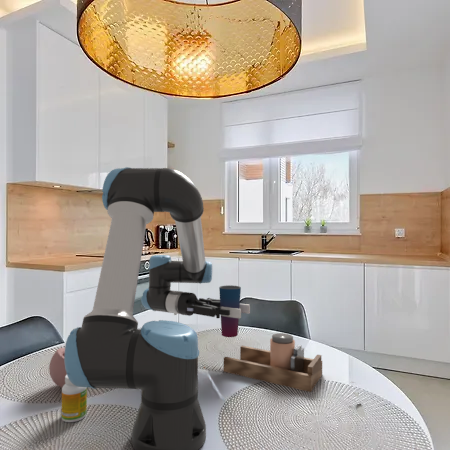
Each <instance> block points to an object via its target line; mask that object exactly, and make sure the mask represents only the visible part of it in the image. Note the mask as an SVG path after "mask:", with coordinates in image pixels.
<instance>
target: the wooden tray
mask: <svg viewBox="0 0 450 450" xmlns="http://www.w3.org/2000/svg"><path fill="white" fill-rule="evenodd" d="M239 350H240V351H239V352H240V354H239V355H240V357H239V359H238V358H234V357H230V356H224V357H223V372H224V373H228V374H232V375H236V376H241V377H245V378H250V379H253V380H257V381H261V382H262V381H263V382H266V383H270V384H274V385H279V386H282V387H287V388H290V389H291V388H292V389H297V390H300V391H305V392H309V393H312V391H313V390H314V388H315V386H316V385H317V384H318V382H319V381H320V380H321V377H322V376H323V360H322V355H321V354H316V355H315V357H314V358H310V357H305V356H304V372H303V373H301V372H296V371H291V370H287V369H282V368H277V367H272V366H270V350H268V349H263V348H256V347H252V346H247V345H240V348H239Z"/></svg>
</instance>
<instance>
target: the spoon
mask: <svg viewBox="0 0 450 450" xmlns="http://www.w3.org/2000/svg"><path fill="white" fill-rule="evenodd" d="M350 383H351V384H353V383H355V382H354V381H351V382H350ZM353 394H354V395H355V397H356V398H359V396H360V395H359V392H354V391H353ZM356 411H357V415H358V414H359V416H360V417H362V416H363V417H365V415H366V416H367V414H366V412H365V409H364V407H363V405H362V403H357V404H356ZM359 416H358V417H359Z"/></svg>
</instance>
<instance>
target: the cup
mask: <svg viewBox="0 0 450 450" xmlns="http://www.w3.org/2000/svg"><path fill="white" fill-rule="evenodd" d="M218 288H219V300H220V309H221V307H230V308H237V309H239V308H240V304H241V292H242V291H241V289H242V288H241V286H239V285H231V284H230V285H227V284H226V285H221V286H219V287H218ZM239 320H240V318H233V317H226V316H221V315H220V325H221V328H220V330H221V336H222V337H224V338H225V337H226V338H234V337H235V338H236V337H237V336H238V334H239V333H238V332H239Z"/></svg>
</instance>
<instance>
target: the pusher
mask: <svg viewBox="0 0 450 450" xmlns="http://www.w3.org/2000/svg"><path fill="white" fill-rule="evenodd" d="M304 357H305V348H304V347H302V345H301V344H297V345H295V348H294V355H293V356H292V357H291V371H296V372H301V373H303V372H304Z"/></svg>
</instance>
